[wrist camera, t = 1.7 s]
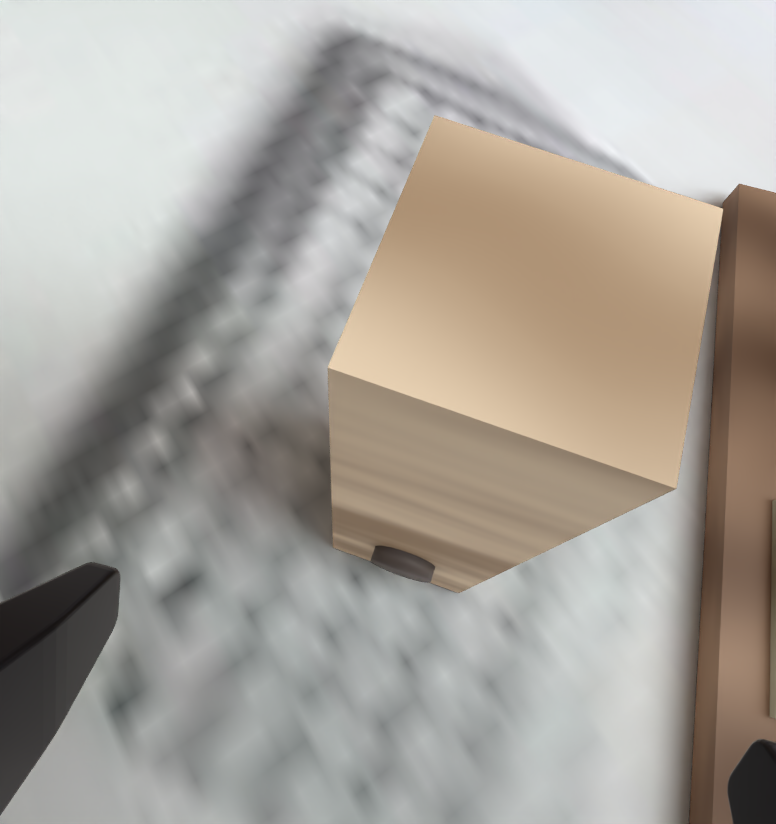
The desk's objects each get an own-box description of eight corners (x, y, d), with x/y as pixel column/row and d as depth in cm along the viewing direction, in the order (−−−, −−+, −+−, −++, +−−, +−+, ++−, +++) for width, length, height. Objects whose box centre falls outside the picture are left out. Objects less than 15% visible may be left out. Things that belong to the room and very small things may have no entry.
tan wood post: (455, 605, 20) (670, 519, 7) (328, 559, 20) (315, 396, 7) (496, 461, 22) (726, 187, 9) (380, 420, 22) (443, 96, 9)
